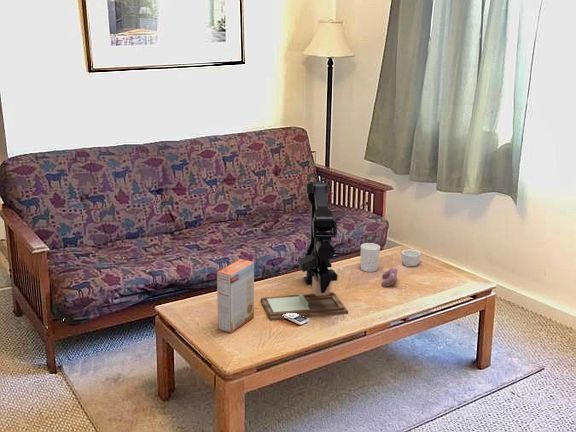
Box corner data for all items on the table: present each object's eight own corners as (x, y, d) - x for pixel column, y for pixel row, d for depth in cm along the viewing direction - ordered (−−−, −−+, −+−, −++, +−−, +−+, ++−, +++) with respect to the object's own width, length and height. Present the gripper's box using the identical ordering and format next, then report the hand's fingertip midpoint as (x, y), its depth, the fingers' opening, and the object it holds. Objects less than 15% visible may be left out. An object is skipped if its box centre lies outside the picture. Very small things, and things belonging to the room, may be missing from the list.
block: (311, 290, 247) (312, 276, 245) (325, 289, 248) (325, 275, 246) (315, 295, 242) (316, 281, 241) (329, 294, 244) (330, 280, 242)
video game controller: (390, 291, 264) (399, 277, 262) (380, 285, 264) (389, 271, 262) (391, 281, 274) (400, 268, 271) (381, 276, 274) (390, 262, 271)
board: (260, 300, 249) (260, 296, 249) (334, 295, 256) (334, 290, 255) (270, 320, 235) (270, 315, 234) (348, 313, 241) (348, 309, 241)
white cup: (381, 268, 283) (383, 245, 280) (373, 274, 276) (375, 251, 273) (364, 264, 287) (366, 241, 284) (355, 269, 280) (357, 246, 277)
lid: (266, 300, 247) (266, 294, 246) (301, 297, 250) (301, 292, 249) (273, 313, 237) (273, 307, 236) (309, 310, 240) (309, 304, 239)
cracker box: (240, 313, 239) (240, 257, 232) (254, 318, 236) (255, 261, 230) (216, 329, 227) (216, 270, 221) (231, 334, 224) (231, 275, 218)
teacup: (409, 269, 282) (410, 257, 281) (396, 263, 288) (397, 251, 287) (427, 264, 288) (428, 252, 286) (413, 259, 294) (414, 247, 292)
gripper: (293, 241, 247) (292, 281, 252) (307, 260, 230) (305, 302, 234) (323, 239, 249) (321, 279, 254) (339, 258, 232) (336, 300, 237)
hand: (320, 289), depth 245 cm, fingers closed on block, 5 cm apart
